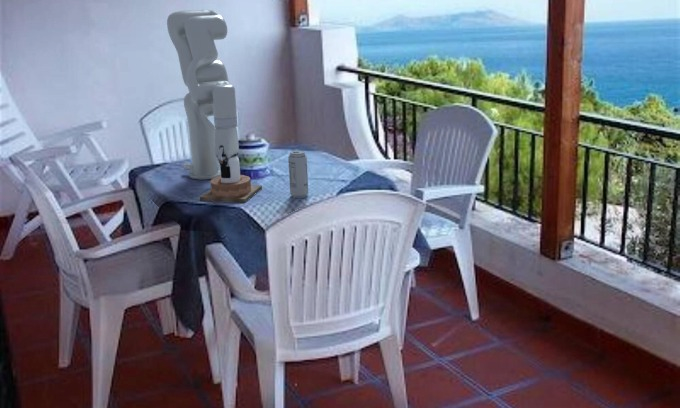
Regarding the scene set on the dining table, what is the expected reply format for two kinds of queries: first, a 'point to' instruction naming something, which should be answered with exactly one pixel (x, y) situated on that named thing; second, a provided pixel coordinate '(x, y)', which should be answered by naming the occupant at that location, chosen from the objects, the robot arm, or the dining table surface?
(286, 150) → the dining table surface
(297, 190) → the energy drink can
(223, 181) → the can
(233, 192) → the socket block
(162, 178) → the dining table surface
